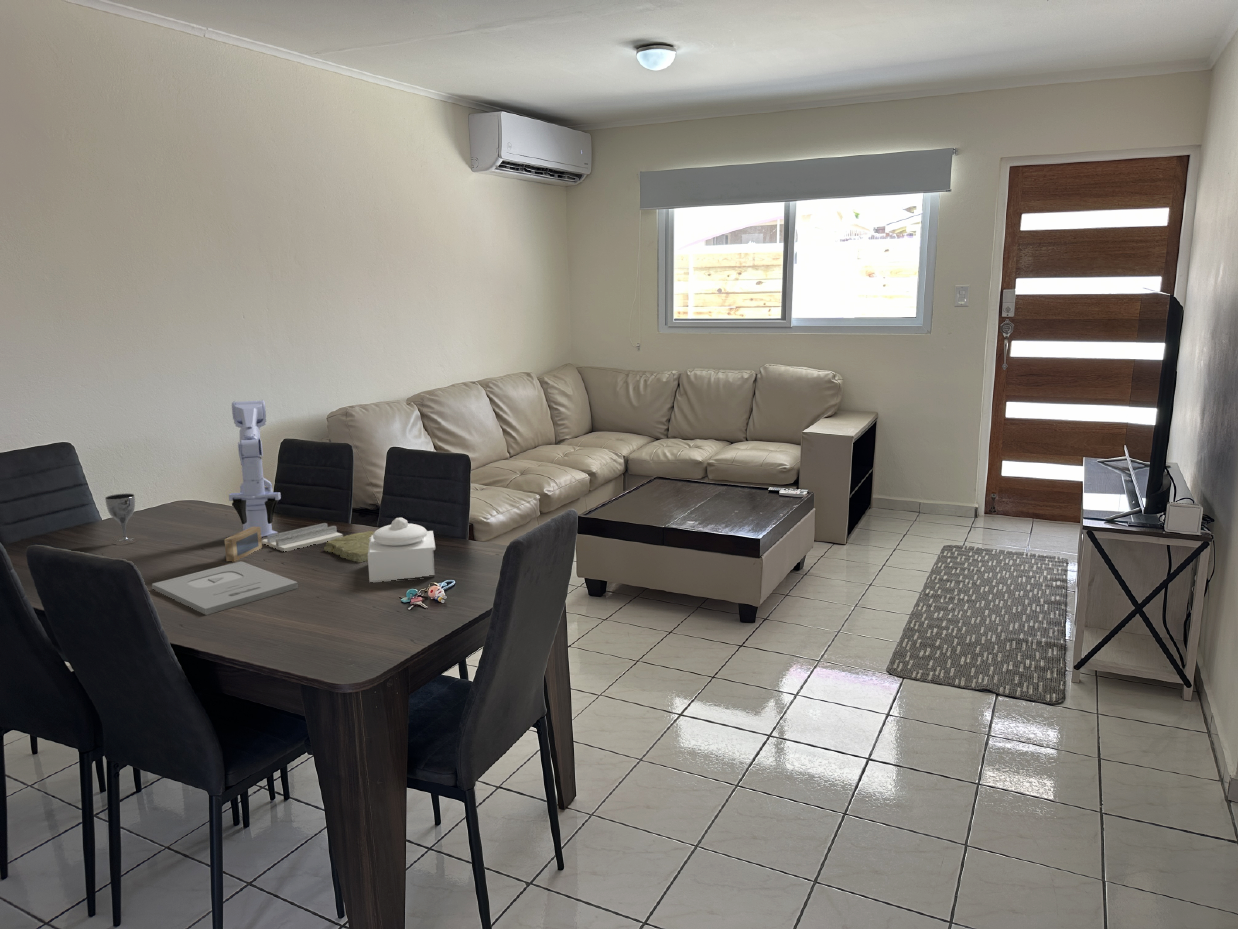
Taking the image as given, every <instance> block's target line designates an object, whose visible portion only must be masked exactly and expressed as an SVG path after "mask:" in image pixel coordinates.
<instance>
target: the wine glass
mask: <svg viewBox="0 0 1238 929" xmlns="http://www.w3.org/2000/svg"><path fill="white" fill-rule="evenodd" d="M105 504H106V509H107V511H108V514H109V515H110V516H111V517H112V518H113V519H114V520H115V521H117V522H118V523H119V525H120V526H121V529H122V534H123V535H122V536H123V538H122V539H119V541H133V540H132V539H133V538H128V537H127V533H126V532H127V531H126V528H127V523H128V521H129V520H130V519H131V517H132V516H133V514H134V512H135V508H136V507H135V506H136V498H135V494H134V493H129V492H128V493H117V494H111V495H108V496H105Z"/></svg>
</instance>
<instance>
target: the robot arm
mask: <svg viewBox="0 0 1238 929" xmlns="http://www.w3.org/2000/svg"><path fill="white" fill-rule="evenodd" d="M231 412H232V420H233V423H234V425H235V427H236V428H240V429H239V442H237V450H238V457H239V461H240V466H241V474H242V476H241V477H242V483H241V484H240V486H239V492H231V493H230V494H228V499H229V500H228V501H229V502H232V503H231V505H232V507H233V508H234V509H235V511H236V512H237V514H238V517H239V519H240V522H241V524H242V527H243V531H244V530H246V529H249V528H251V527H260V529H261V538H262V537H267V536H269V535H273V534H278V531H275V530H273V527H272V523H273V522H274V521H273V519H274V515H275V514H274V513H275V510H276V506H277V504H278V502H279V500H281V498H282V495H281V492H277V491H276V492H274V491H273V484H272V482H271V481H270V480H268V479H267V478H265V477H264V468H263V457H264V450H263V442H262V439H261V431H260V429H261V428H262V427H264V426H266V423H267V410H266V402H265V400H264V399H260V400H248V401H247V400H243V401H242V400H241V401H239V400H237V401H235V400H234V401H233V402H231Z"/></svg>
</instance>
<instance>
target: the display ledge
mask: <svg viewBox="0 0 1238 929" xmlns="http://www.w3.org/2000/svg"><path fill="white" fill-rule="evenodd" d="M337 527H338V526H336V525H331V526H328V523H326V522H323V523H319V524H318V523H317V524H314V525H309V526H306V527H301V528H297V529H293V530H287V531H282V532H277V534H272V535H268V536H266V538H265V539H262V545H264V544H266V545H265V546H267V545H269V546H268V547H270V548H272V547H273V549H275V548H276V550H278V551H280V552H283V551H284V553H286V552H285V551H287V552H292V551H295V550H298V549H297V548H300V549H303V547H304V548H307V546H308V547H311V546H310V545H312V546H314V545H313V544H316V545H320V544H324V543H326V542H327V541H331V540H333V539H335V538H341V537H344V534H343V533H340V532H338V531H337V530H338V529H337ZM294 549H295V550H294Z"/></svg>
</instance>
